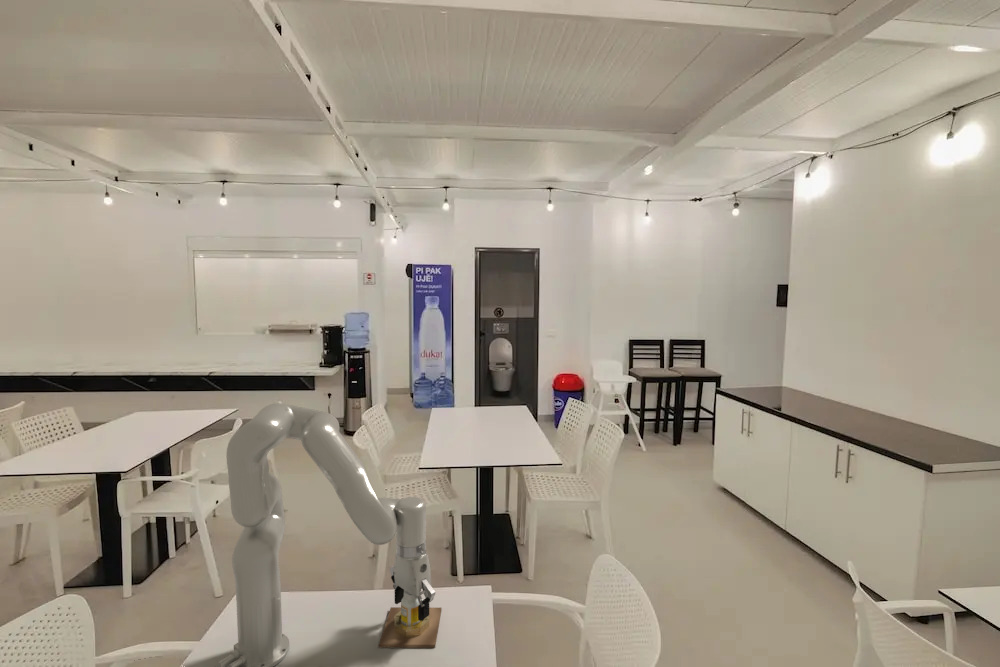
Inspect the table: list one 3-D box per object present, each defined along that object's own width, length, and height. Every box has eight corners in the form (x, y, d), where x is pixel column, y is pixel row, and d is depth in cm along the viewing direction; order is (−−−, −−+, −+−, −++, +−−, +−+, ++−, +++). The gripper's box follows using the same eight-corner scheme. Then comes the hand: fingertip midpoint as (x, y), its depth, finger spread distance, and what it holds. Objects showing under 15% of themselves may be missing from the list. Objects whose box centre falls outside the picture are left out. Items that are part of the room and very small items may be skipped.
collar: (413, 641, 120) (413, 634, 120) (387, 628, 124) (387, 621, 124) (435, 621, 127) (435, 614, 127) (410, 609, 132) (410, 602, 132)
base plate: (378, 647, 119) (378, 644, 119) (390, 610, 133) (390, 607, 133) (435, 647, 119) (435, 644, 119) (441, 610, 133) (441, 607, 133)
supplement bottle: (398, 632, 123) (398, 596, 122) (403, 617, 129) (403, 583, 128) (419, 632, 123) (419, 597, 122) (423, 618, 128) (423, 584, 128)
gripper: (444, 553, 121) (444, 617, 123) (402, 530, 132) (402, 589, 134) (421, 565, 116) (422, 632, 117) (379, 540, 127) (380, 602, 128)
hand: (411, 609), depth 126 cm, fingers open, 9 cm apart
